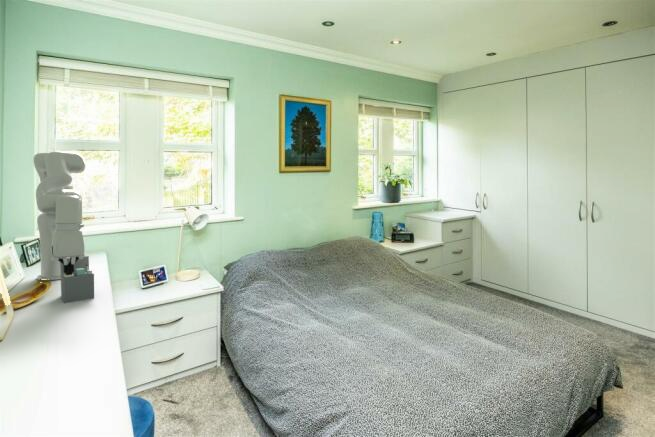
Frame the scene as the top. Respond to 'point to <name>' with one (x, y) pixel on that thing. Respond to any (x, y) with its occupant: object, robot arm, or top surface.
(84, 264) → the skincare box
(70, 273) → the robot arm
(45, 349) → the top surface
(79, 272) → the teal button
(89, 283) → the panel
